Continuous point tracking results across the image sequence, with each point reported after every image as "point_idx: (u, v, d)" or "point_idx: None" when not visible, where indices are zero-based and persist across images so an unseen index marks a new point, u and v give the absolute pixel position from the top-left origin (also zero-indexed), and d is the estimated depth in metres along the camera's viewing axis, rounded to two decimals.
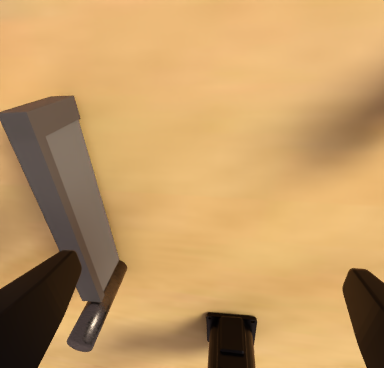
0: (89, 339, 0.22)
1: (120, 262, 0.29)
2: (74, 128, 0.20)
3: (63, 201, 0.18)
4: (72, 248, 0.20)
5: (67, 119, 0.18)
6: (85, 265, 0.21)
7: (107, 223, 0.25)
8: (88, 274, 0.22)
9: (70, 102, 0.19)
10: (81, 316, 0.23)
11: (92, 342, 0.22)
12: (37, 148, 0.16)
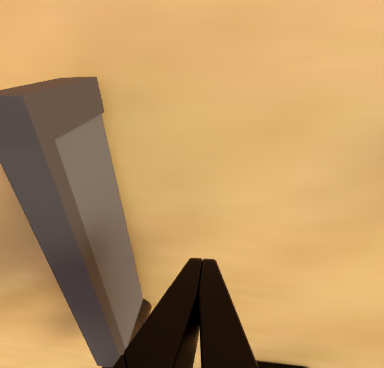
0: None
1: (143, 301, 0.22)
2: (96, 126, 0.13)
3: (79, 241, 0.11)
4: (89, 305, 0.14)
5: (87, 112, 0.12)
6: (105, 327, 0.15)
7: (131, 255, 0.19)
8: (110, 337, 0.15)
9: (92, 86, 0.12)
10: None
11: None
12: (40, 160, 0.09)
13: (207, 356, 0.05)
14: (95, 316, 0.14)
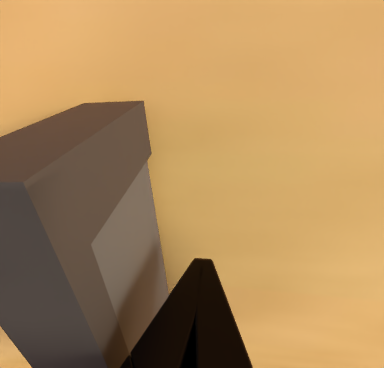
0: None
1: None
2: (141, 179, 0.08)
3: None
4: None
5: (134, 164, 0.07)
6: None
7: None
8: None
9: (138, 118, 0.07)
10: None
11: None
12: (63, 300, 0.04)
13: (202, 355, 0.05)
14: None
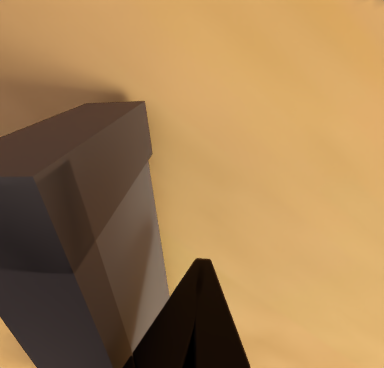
0: None
1: None
2: (143, 178, 0.08)
3: None
4: None
5: (136, 163, 0.07)
6: None
7: None
8: None
9: (140, 118, 0.07)
10: None
11: None
12: (69, 295, 0.04)
13: (199, 355, 0.05)
14: None
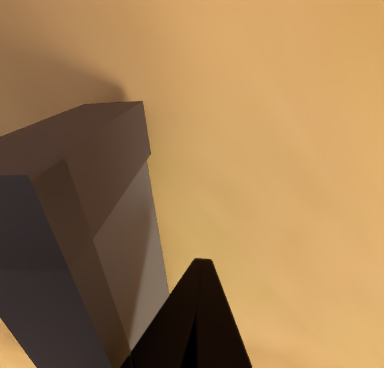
0: None
1: None
2: (141, 178, 0.08)
3: None
4: None
5: (134, 163, 0.07)
6: None
7: None
8: None
9: (138, 118, 0.07)
10: None
11: None
12: (66, 293, 0.04)
13: (201, 355, 0.05)
14: None
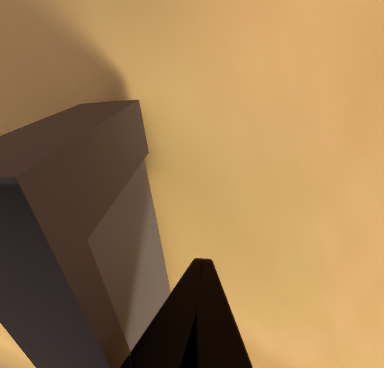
0: None
1: None
2: (139, 177, 0.08)
3: None
4: None
5: (130, 162, 0.07)
6: None
7: None
8: None
9: (134, 117, 0.07)
10: None
11: None
12: (60, 294, 0.04)
13: (201, 355, 0.05)
14: None
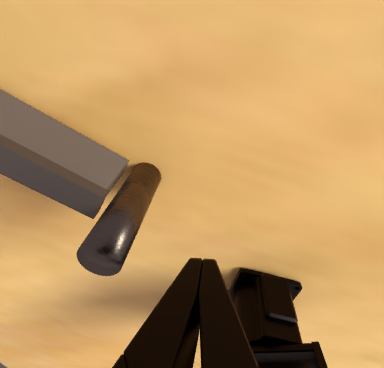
0: (120, 253, 0.12)
1: (155, 168, 0.19)
2: None
3: None
4: None
5: None
6: (17, 156, 0.14)
7: (58, 123, 0.18)
8: (37, 166, 0.14)
9: None
10: (104, 218, 0.14)
11: (123, 260, 0.13)
12: None
13: (207, 356, 0.05)
14: None
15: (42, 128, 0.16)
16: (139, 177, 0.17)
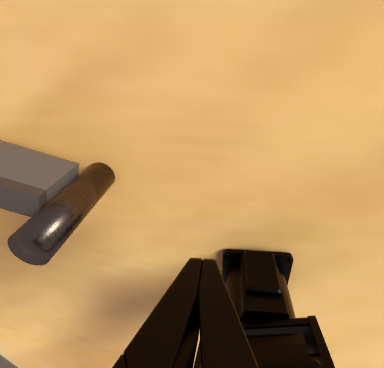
0: (44, 239, 0.13)
1: (105, 166, 0.20)
2: None
3: None
4: None
5: None
6: None
7: (10, 145, 0.20)
8: None
9: None
10: (36, 213, 0.15)
11: (50, 246, 0.13)
12: None
13: (207, 356, 0.05)
14: None
15: None
16: (83, 175, 0.19)
